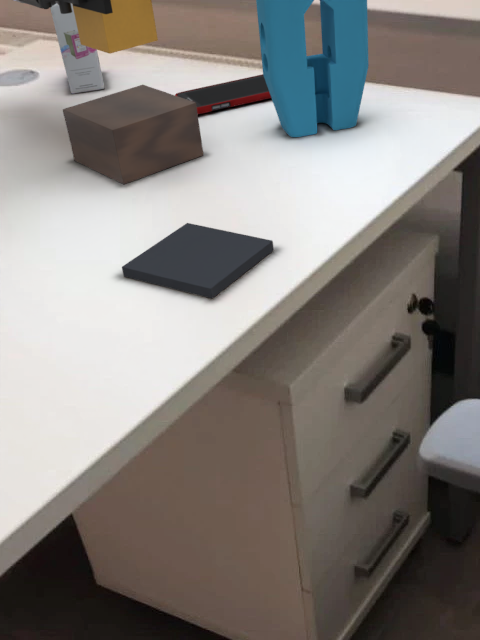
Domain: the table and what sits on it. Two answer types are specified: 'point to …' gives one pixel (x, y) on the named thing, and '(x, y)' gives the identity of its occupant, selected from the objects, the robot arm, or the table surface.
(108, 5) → the robot arm
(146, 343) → the table surface
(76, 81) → the ink box
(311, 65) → the blue slotted bracket
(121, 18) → the ochre block
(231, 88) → the cell phone
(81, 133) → the walnut block
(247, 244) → the grey mat
